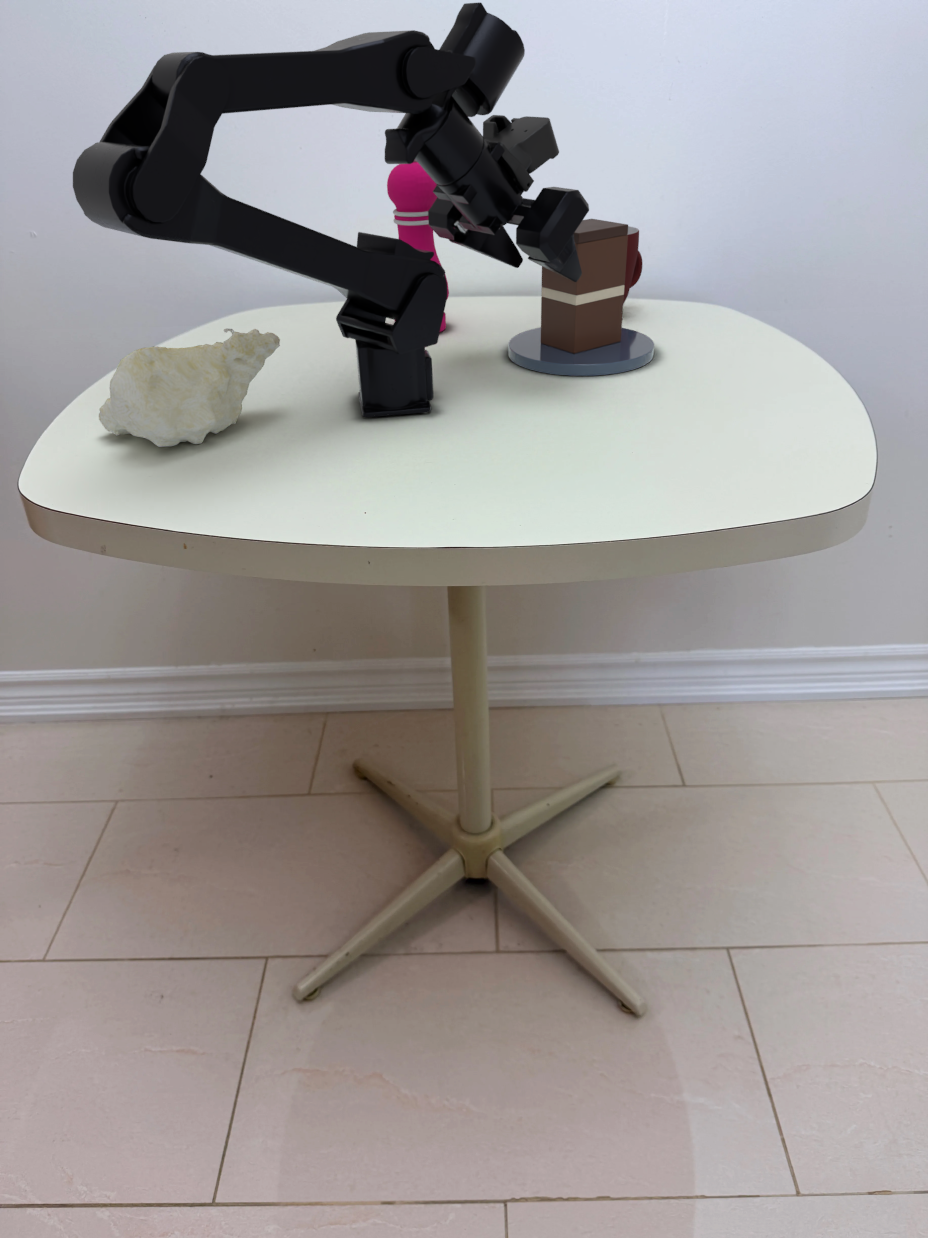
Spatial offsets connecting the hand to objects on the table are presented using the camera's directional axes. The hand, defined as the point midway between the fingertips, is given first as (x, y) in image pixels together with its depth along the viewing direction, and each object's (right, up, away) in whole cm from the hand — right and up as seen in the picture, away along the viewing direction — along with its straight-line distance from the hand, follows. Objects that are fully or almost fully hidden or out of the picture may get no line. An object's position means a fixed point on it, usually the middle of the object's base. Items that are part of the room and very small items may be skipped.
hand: (548, 270), depth 92 cm
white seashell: (-33, -18, -9) cm, 39 cm away
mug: (+10, +3, +22) cm, 24 cm away
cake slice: (+4, -5, +7) cm, 10 cm away
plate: (+4, -6, +8) cm, 11 cm away
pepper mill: (-14, 0, +18) cm, 23 cm away
